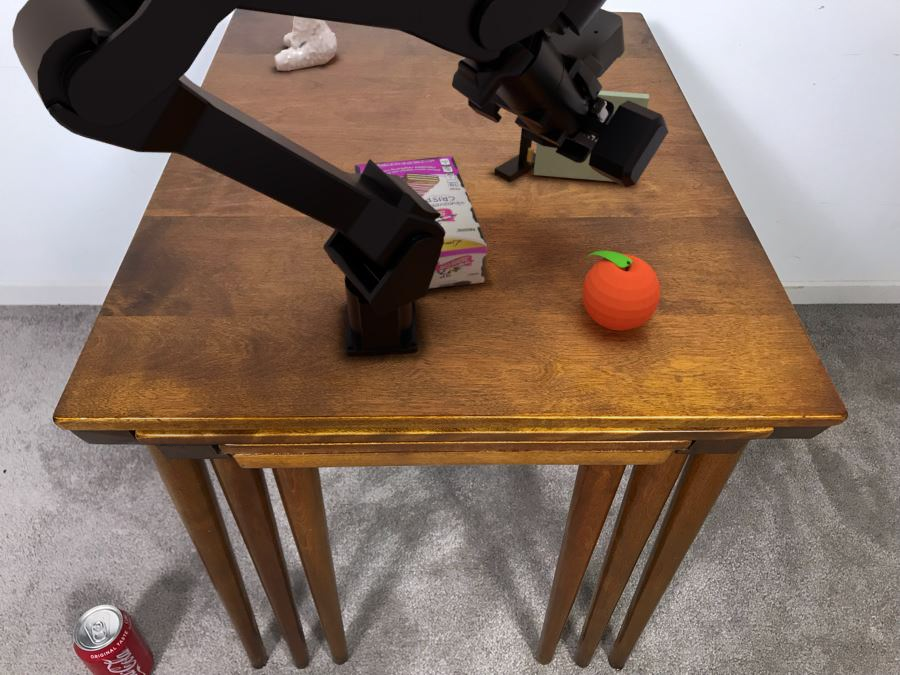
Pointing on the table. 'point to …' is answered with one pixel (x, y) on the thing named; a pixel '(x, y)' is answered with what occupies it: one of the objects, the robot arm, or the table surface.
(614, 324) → the clementine
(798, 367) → the table surface
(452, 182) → the candy bar box
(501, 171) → the hinge post
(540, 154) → the door
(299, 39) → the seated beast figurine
